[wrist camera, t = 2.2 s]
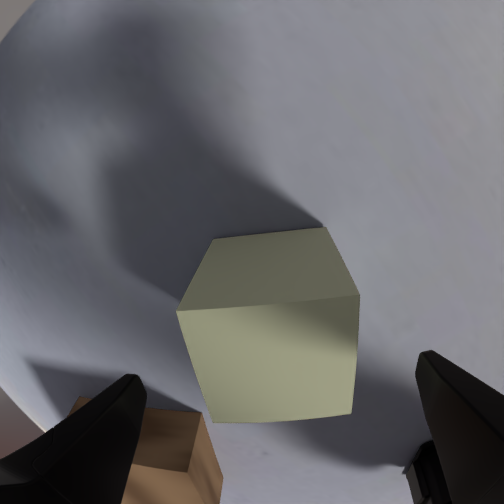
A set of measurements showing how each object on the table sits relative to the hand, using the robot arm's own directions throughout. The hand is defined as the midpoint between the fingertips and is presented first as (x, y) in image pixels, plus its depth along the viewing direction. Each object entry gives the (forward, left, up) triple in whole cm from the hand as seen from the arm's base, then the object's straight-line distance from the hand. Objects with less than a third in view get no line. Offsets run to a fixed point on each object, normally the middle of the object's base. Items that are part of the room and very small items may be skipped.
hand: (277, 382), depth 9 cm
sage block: (0, 0, -6) cm, 6 cm away
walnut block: (+11, +14, -6) cm, 19 cm away
